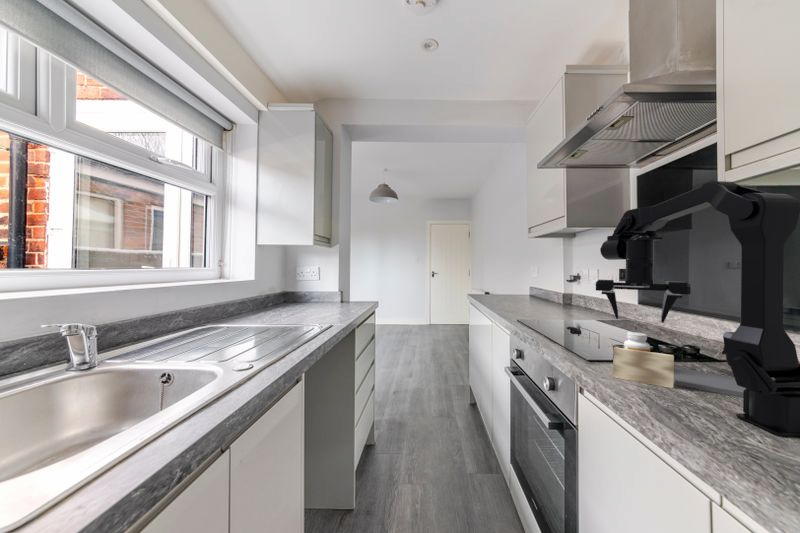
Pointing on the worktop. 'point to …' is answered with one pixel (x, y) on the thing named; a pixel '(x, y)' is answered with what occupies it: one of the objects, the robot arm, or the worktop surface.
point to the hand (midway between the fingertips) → (639, 320)
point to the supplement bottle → (637, 342)
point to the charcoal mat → (707, 382)
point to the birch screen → (643, 366)
